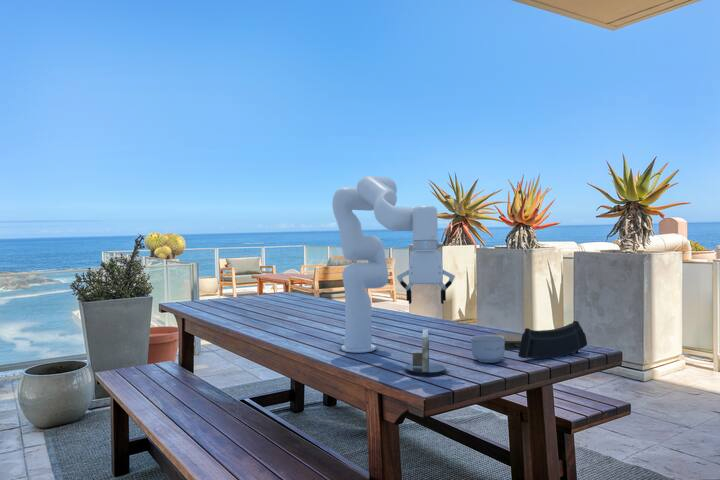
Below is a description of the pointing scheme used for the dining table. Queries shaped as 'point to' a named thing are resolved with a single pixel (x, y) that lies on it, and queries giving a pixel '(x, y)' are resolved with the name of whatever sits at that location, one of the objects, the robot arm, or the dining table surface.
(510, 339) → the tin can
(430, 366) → the stand
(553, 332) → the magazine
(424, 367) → the frame
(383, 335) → the dining table surface
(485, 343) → the teacup
